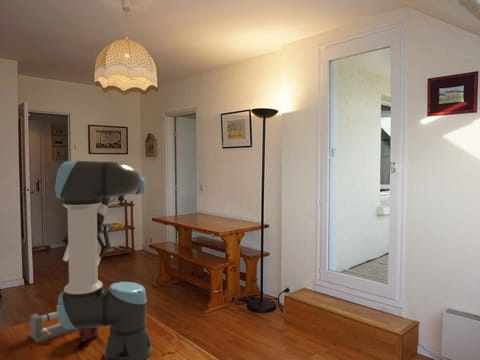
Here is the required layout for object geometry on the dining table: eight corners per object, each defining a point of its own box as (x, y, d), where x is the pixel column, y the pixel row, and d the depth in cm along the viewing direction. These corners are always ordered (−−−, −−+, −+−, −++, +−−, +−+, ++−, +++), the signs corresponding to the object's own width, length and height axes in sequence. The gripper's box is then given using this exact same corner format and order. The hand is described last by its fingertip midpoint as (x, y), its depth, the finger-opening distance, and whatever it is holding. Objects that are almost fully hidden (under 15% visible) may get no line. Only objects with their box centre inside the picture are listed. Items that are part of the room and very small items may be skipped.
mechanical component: (108, 332, 137) (92, 345, 127) (85, 329, 139) (67, 342, 129) (108, 300, 136) (92, 310, 126) (84, 298, 138) (67, 308, 128)
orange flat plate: (60, 317, 140) (59, 304, 140) (65, 321, 136) (65, 308, 136) (56, 318, 139) (56, 305, 139) (62, 322, 136) (62, 309, 135)
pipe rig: (75, 321, 146) (75, 301, 146) (84, 327, 141) (84, 306, 140) (29, 335, 133) (29, 313, 133) (37, 342, 128) (36, 320, 128)
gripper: (126, 220, 159) (112, 268, 150) (72, 214, 162) (56, 260, 152) (120, 214, 153) (106, 264, 144) (65, 208, 155) (47, 256, 146)
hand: (80, 262), depth 148 cm, fingers open, 13 cm apart
